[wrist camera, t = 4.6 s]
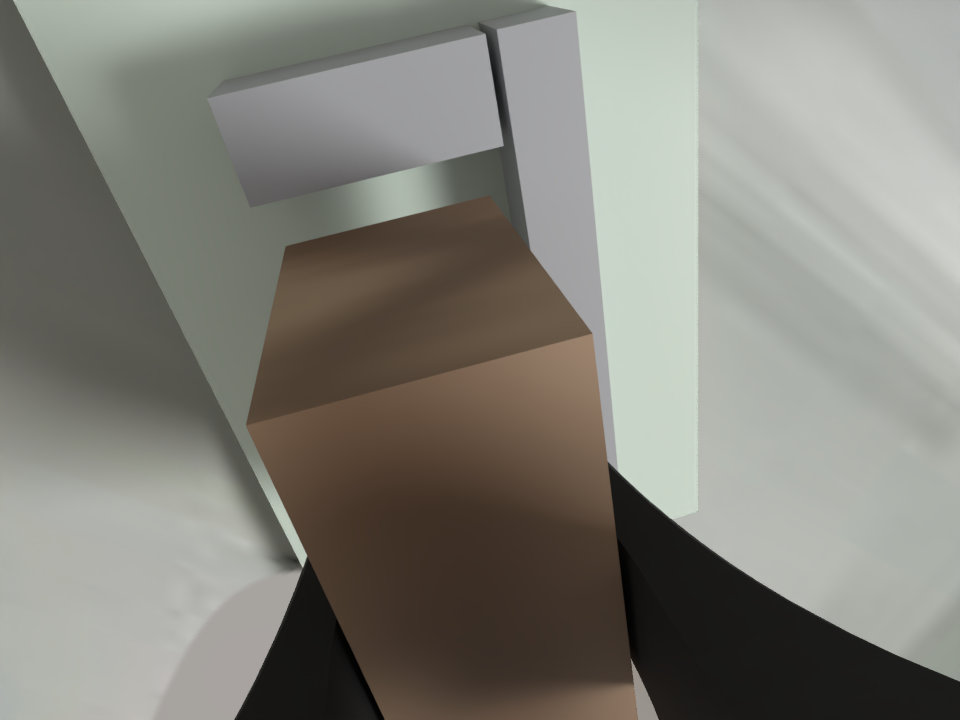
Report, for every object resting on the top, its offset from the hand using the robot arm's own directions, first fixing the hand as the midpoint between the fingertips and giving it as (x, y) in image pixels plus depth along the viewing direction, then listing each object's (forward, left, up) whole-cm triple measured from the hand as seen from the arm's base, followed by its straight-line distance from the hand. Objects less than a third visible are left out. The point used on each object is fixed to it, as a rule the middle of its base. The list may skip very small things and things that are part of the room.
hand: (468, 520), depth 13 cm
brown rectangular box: (0, -1, -3) cm, 3 cm away
